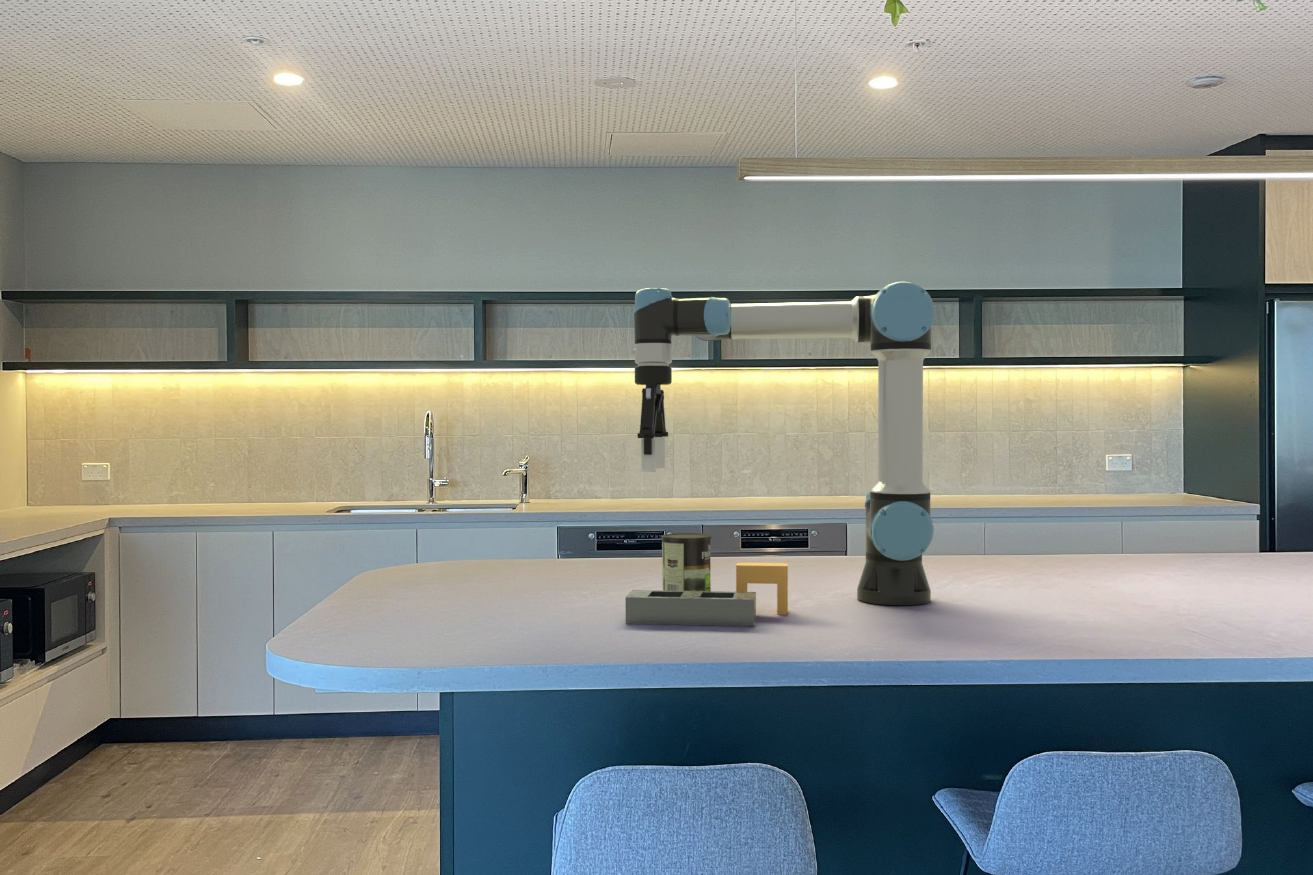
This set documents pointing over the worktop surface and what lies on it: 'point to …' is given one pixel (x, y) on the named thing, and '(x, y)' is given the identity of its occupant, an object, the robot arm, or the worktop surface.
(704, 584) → the coffee can
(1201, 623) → the worktop surface
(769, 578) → the clip
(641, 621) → the gray slotted block
